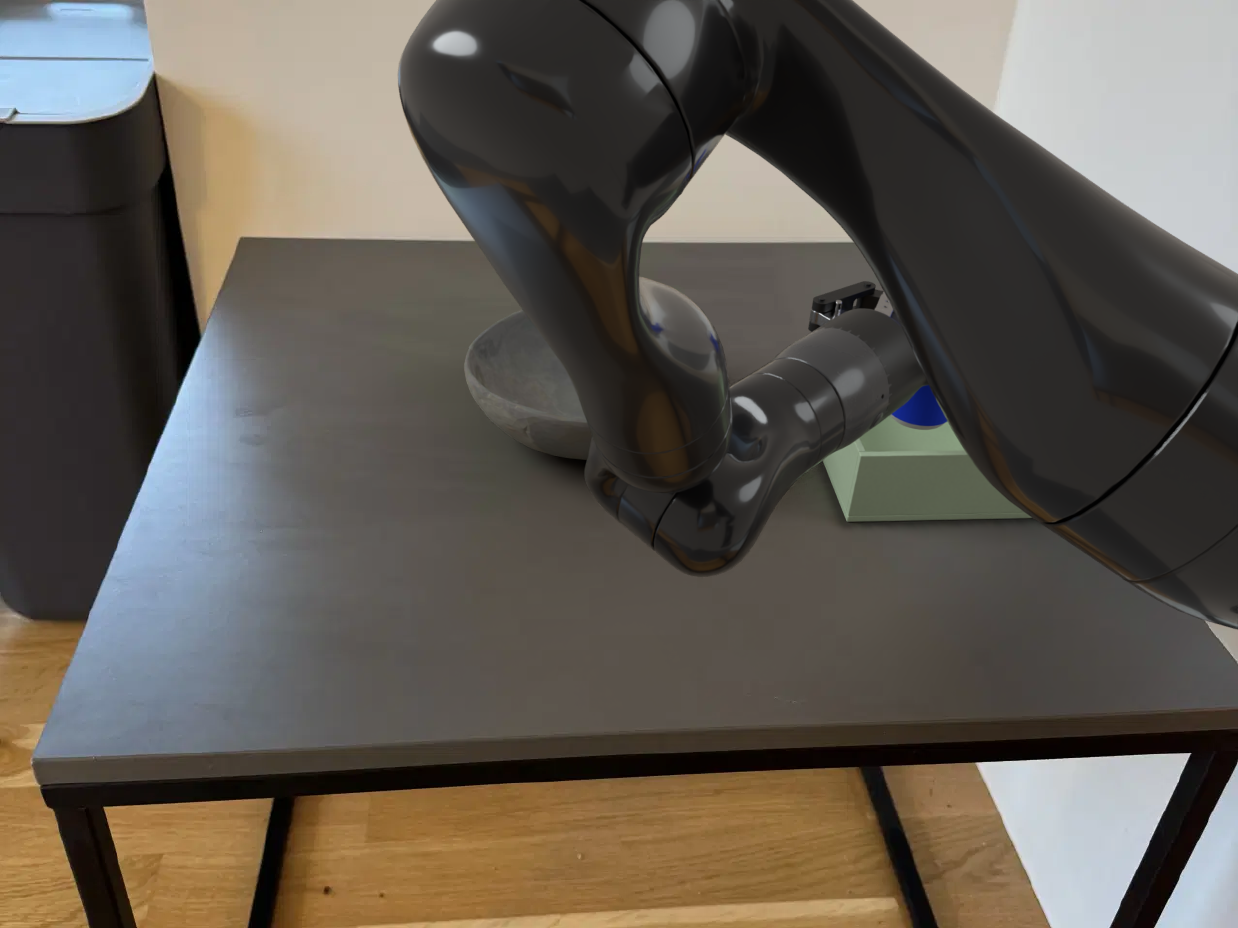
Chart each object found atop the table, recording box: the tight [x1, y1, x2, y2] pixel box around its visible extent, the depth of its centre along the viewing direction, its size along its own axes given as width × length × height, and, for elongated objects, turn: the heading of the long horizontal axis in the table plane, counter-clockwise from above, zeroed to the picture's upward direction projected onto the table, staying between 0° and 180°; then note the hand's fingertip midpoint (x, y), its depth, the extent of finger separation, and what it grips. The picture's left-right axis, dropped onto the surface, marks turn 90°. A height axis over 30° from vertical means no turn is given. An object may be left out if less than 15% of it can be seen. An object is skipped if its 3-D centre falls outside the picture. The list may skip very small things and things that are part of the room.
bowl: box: [463, 309, 592, 461], centre depth 96 cm, size 21×21×8 cm
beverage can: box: [890, 385, 947, 430], centre depth 82 cm, size 5×5×15 cm
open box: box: [822, 416, 1033, 523], centre depth 95 cm, size 16×16×7 cm
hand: (957, 301), depth 83 cm, fingers closed on beverage can, 5 cm apart
